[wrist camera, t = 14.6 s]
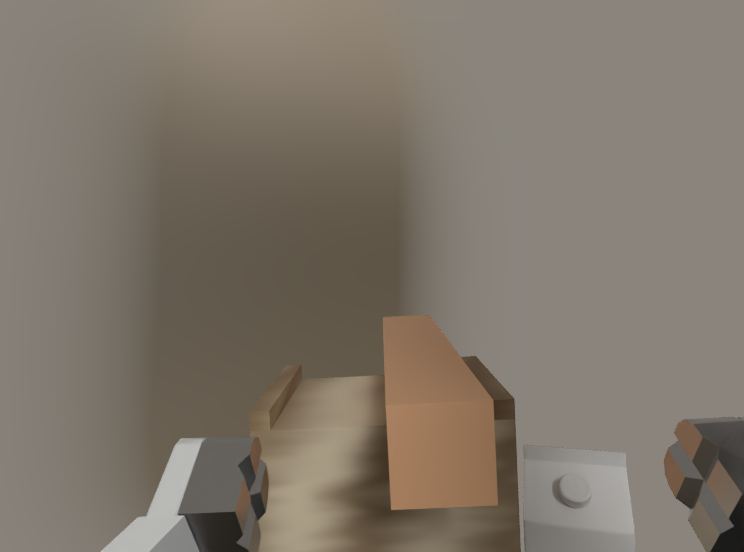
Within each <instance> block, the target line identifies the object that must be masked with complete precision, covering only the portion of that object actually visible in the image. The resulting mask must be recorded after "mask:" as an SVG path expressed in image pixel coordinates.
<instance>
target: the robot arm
mask: <svg viewBox="0 0 744 552" xmlns="http://www.w3.org/2000/svg"><path fill="white" fill-rule="evenodd" d="M674 434H675V435H676V437H677V438H678V440H679V441H677V442H676V443H675V444H673V445H672V446H670V447H669V448H668V450H667V453H666V456H665V459H664V466H665V475H666V478H667V481H668V484H669V486H670V488H671V490H672V492H673V494H674V496H675V497H676V499H678V500H679V501H681V502H682V503H683V504H685V505H686V506H687V507H689V508H690V514H689V520H688V521H689V522H690V524H691V526H692V527H693V529H694V531H695V533H696V534H697V536H698V538H699V539H700V541H701V543H702V545H703V547H704V548H705V550H706V552H744V417H737V418H735V417H723V418H704V419H685V420H682V421H681V422H680V423H678V425H677V427H676V429H675V432H674ZM261 451H262V447H261V443H260V440H259V437H221V438H183V439H182V438H181V439H180V440H179V441H178V443H177V444H176V445H175V446H174V448H173V451H172V454H171V456H170V459H169V461H168V463H167V466H166V468H165V471H164V473H163V476H162V478H161V481H160V483H159V486H158V489H157V491H156V493H155V496H154V498H153V501H152V503H151V505H150V508H149V511H148V513H147V515H146V516H144V517H138V518H136V519H135V521H133V522H132V523H131V524H130V525H129V526H128V527H127V528H126V529H125V530H123V531H122V532H121V533H120V534H119V535H118V536H117V537H116V538H115V539H114V540H113V541H112V542H110V543H109V544H108V545H107V546H106V547H105V548H104V549H103V550H102V551H101V552H258V550H259V545H260V539H261V531H260V528H259V524H258V520H259V519H260V518H261V517H262V516H263V515H264V514H265V513H266V507H267V501H268V490H269V479H268V470H267V466H266V463H265V462H263V461H262V460H261V459H260V456H261Z"/></svg>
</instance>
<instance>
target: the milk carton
mask: <svg viewBox="0 0 744 552" xmlns="http://www.w3.org/2000/svg"><path fill="white" fill-rule="evenodd" d="M523 518H524V542H525V552H635V529H634V521H633V514H632V506H631V499H630V492H629V483H628V476H627V469H626V453H625V452H613V451H612V452H611V451H599V450H586V449H572V448H558V447H545V446H532V445H524V512H523Z"/></svg>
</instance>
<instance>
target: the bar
mask: <svg viewBox="0 0 744 552" xmlns="http://www.w3.org/2000/svg"><path fill="white" fill-rule="evenodd" d="M383 335H384V365H385V367H384V368H385V403H386V422H387V441H388V460H389V478H390V497H391V510H405V509H428V508H451V507H474V506H496V505H498V496H497V473H496V450H495V426H494V403H493V399H492V398H491V396H490V395H489V394H488V392H487V391H486V390H485V388H484V387H483V386H482V384H481V383H480V382H479V380H478V379H477V378H476V377H475V375H474V374H473V373H472V371H471V370H470V369H469V367H468V366H467V365H466V363H465V362H464V361H463V359H462V358H461V357H460V355H459V354H458V353H457V351H456V350H455V349H454V347H453V346H452V345H451V343H450V342H449V341H448V339H447V338H446V337H445V336H444V334H443V333H442V332H441V330H440V329H439V328H438V326H437V325H436V324H435V322H434V321H433V320H432V318H431V317H430V316H429V315H417V316H399V317H383Z"/></svg>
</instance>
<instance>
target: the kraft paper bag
mask: <svg viewBox="0 0 744 552" xmlns="http://www.w3.org/2000/svg"><path fill="white" fill-rule="evenodd" d="M461 358H462V359H463V361H464V362H465V363H466V365H467V366H468V367H469V369H470V370H471V371H472V373H473V374H474V375H475V377H476V378H477V379H478V380H479V382H480V383H481V384H482V386H483V387H484V388H485V390H486V391H487V392H488V394H489V395H490V396H491V398H492V399H493V403H494V426H495V450H496V473H497V496H498V505H496V506H474V507H451V508H428V509H405V510H391V497H390V478H389V460H388V441H387V422H386V403H385V375H379V376H360V377H338V378H318V379H302V370H301V365H291V366H286V367H285V369H284V370H283V371H282V372H281V373H280V375H279V376H278V377H277V378H276V379H275V381H274V382H273V383H272V384H271V385H270V387H269V388H268V389H267V390H266V392H265V393H264V394H263V395H262V396H261V398H260V399H259V400H258V401H257V403H256V404H255V405H254V406H253V408H252V409H251V410H250V411H249V421H250V435H251V437H259V440H260V443H261V447H262V451H261V456H260V459H261V460H262V461H263V462H265V463H266V466H267V470H268V479H269V490H268V501H267V507H266V513H265V514H264V515H263V516H262V517H261V518H260V519H259V520H258V524H259V528H260V531H261V539H260V545H259V550H258V552H521V549H520V526H519V502H518V501H519V500H518V477H517V454H516V428H515V405H514V398H513V397H512V396H511V395H510V394H509V393H508V391H507V390H506V389H505V388H504V387H503V386H502V385H501V384H500V383H499V381H498V380H497V379H495V377H494V376H493V375H492V374H491V373H490V371H489V370H488V369H487V368H486V367H485V366H484V365H483V364H482V363H481V362H480V361H479V359H478V358H477V357H476V356H471V357H461Z"/></svg>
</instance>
